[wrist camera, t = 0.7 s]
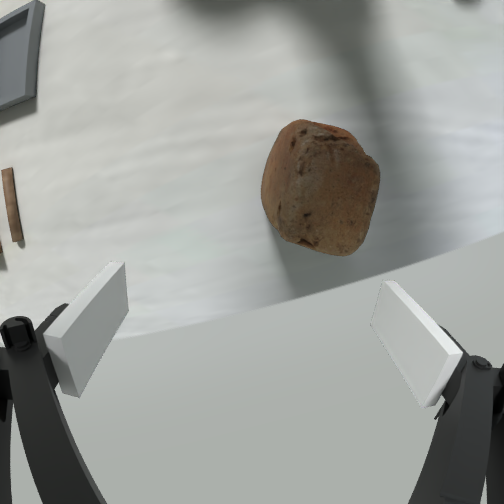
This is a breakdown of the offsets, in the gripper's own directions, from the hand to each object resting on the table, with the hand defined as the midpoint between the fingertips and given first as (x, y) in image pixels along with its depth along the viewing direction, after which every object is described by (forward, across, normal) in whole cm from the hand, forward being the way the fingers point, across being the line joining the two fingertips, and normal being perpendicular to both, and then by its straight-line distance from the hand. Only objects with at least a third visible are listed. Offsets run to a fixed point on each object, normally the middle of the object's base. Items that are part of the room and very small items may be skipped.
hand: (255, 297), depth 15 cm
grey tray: (+27, -40, +23) cm, 54 cm away
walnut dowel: (+27, -38, -2) cm, 47 cm away
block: (+27, +6, +5) cm, 28 cm away
